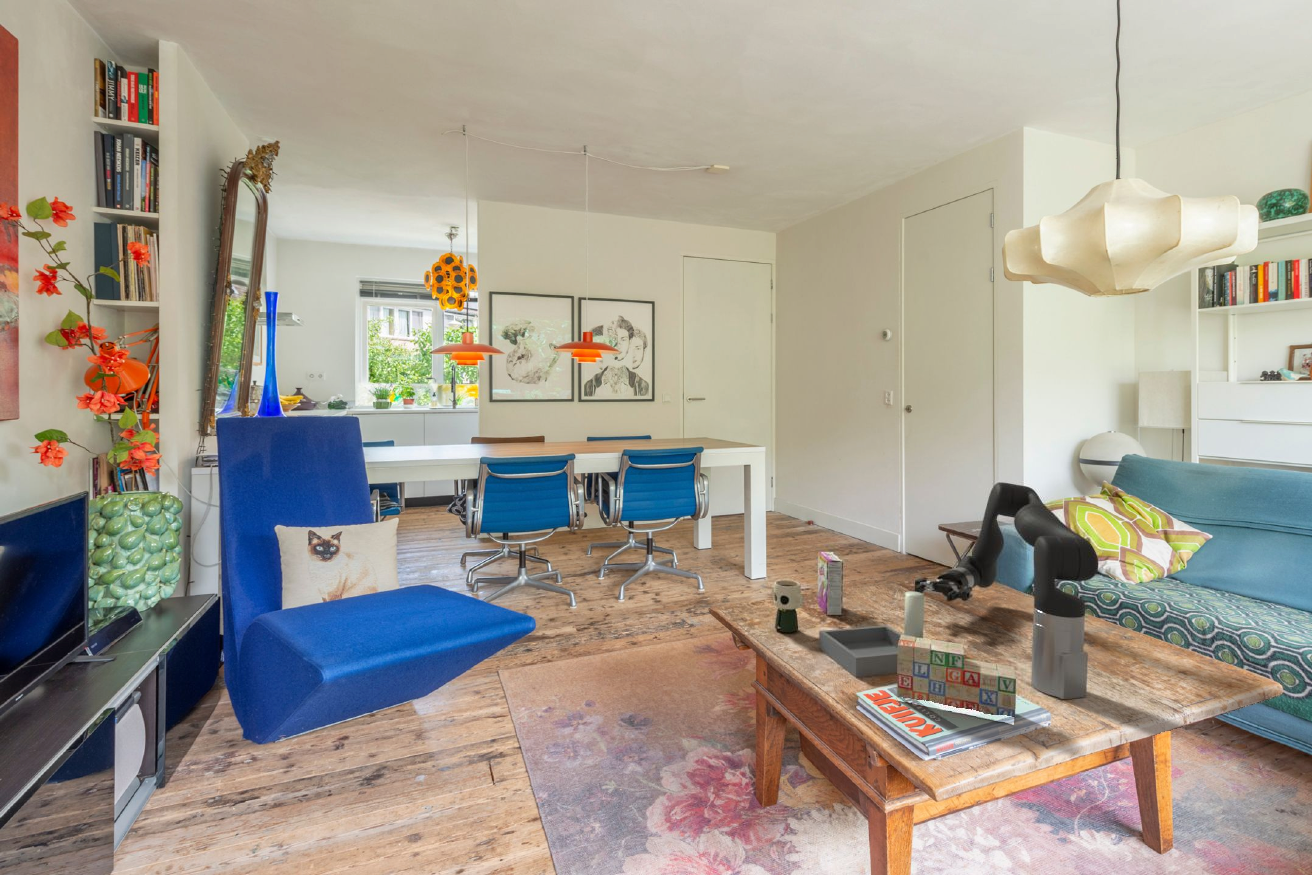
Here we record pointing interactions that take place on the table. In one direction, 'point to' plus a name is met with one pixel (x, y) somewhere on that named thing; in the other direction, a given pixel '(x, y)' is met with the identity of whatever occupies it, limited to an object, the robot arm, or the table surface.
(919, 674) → the stack of blocks
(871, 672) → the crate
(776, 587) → the character mug
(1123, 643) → the table surface
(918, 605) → the canister
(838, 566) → the candy bar box
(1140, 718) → the table surface
